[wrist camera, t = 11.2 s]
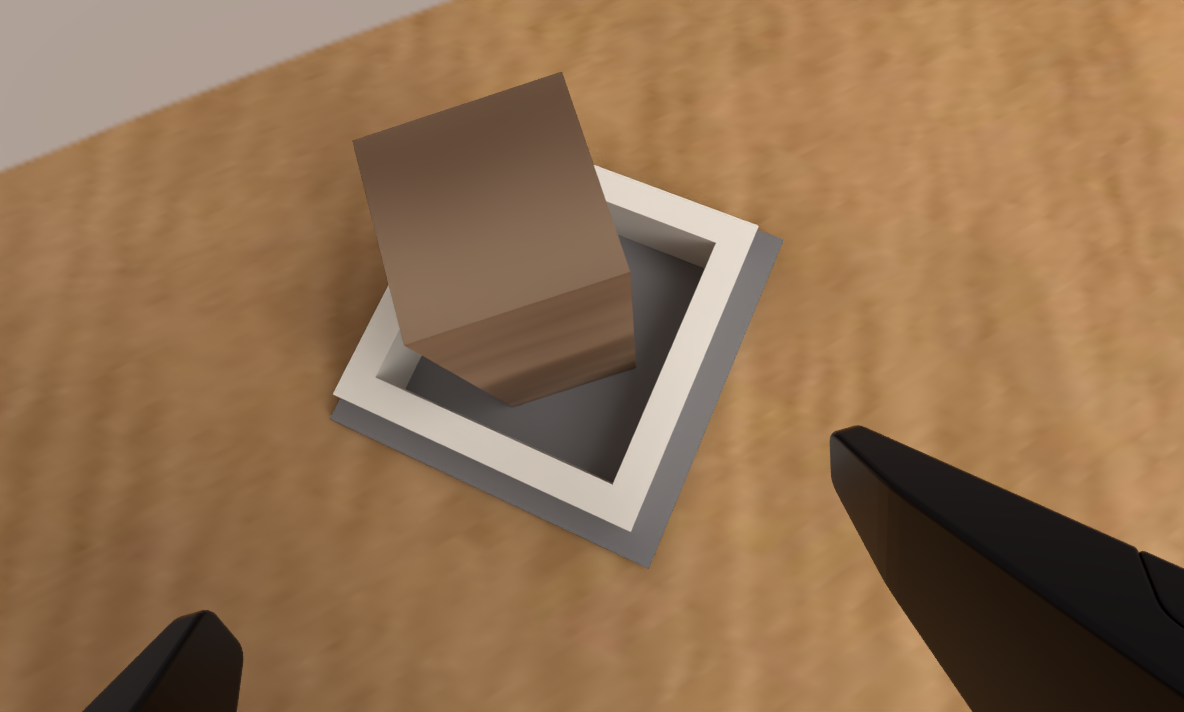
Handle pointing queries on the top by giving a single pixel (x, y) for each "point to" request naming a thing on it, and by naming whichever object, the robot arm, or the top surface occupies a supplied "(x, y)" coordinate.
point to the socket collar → (595, 410)
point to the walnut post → (502, 244)
